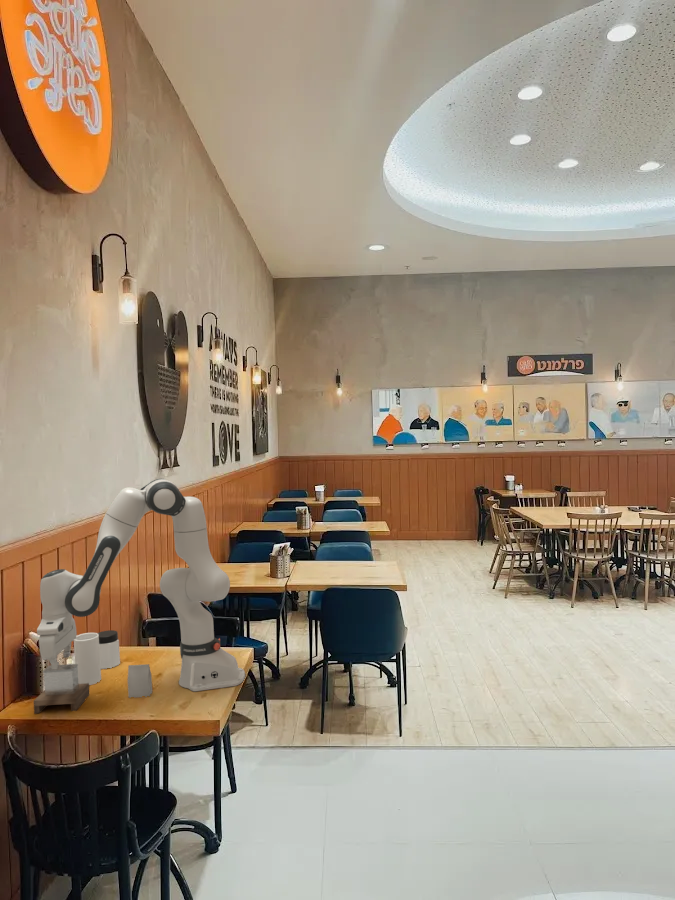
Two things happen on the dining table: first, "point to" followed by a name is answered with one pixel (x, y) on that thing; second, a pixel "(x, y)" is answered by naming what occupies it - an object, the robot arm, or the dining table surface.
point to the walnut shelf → (62, 699)
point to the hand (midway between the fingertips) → (61, 662)
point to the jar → (109, 649)
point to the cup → (87, 658)
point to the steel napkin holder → (61, 680)
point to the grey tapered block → (139, 681)
